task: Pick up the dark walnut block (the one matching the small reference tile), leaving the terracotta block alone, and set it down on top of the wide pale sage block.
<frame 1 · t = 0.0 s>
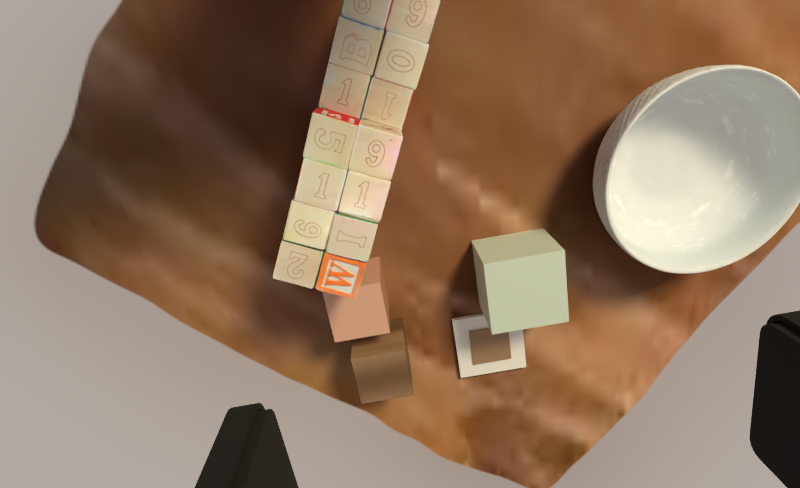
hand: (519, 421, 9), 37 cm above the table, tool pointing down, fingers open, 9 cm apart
reference tile: (489, 341, 52), on the table
walnut block: (381, 342, 51), on the table
cereal bowl: (661, 160, 46), on the table
stack of blocks: (359, 125, 44), on the table
terracotta block: (359, 284, 49), on the table
sage base block: (510, 266, 49), on the table
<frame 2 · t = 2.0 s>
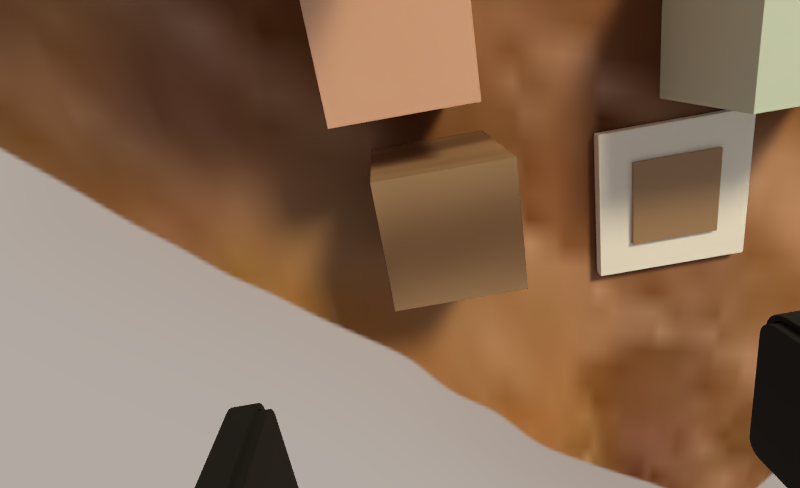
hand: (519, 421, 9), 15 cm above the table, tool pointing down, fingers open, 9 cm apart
reference tile: (668, 193, 23), on the table
walnut block: (434, 193, 23), on the table
terracotta block: (386, 37, 21), on the table
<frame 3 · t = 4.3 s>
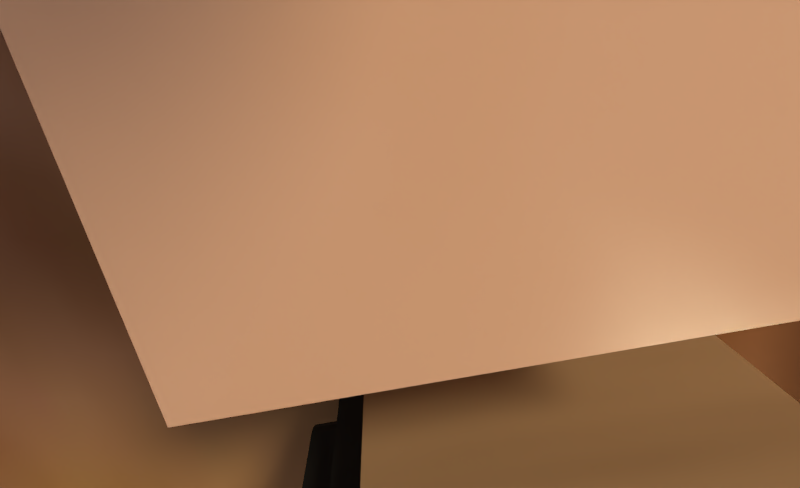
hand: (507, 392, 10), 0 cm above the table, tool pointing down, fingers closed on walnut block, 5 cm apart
walnut block: (502, 377, 11), on the table, touching gripper
terracotta block: (403, 40, 8), on the table
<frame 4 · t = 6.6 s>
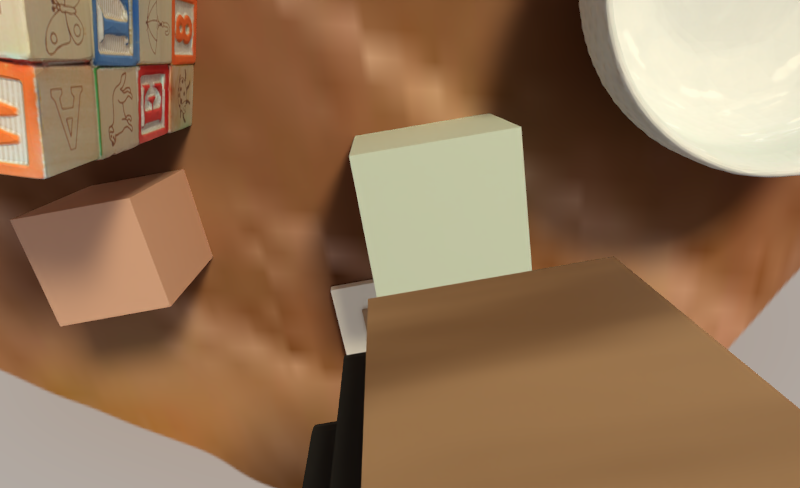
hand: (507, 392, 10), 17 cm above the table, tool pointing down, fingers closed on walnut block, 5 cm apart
reference tile: (402, 328, 29), on the table
walnut block: (502, 380, 11), point 17 cm above the table, touching gripper
terracotta block: (153, 222, 26), on the table
sage base block: (431, 189, 27), on the table
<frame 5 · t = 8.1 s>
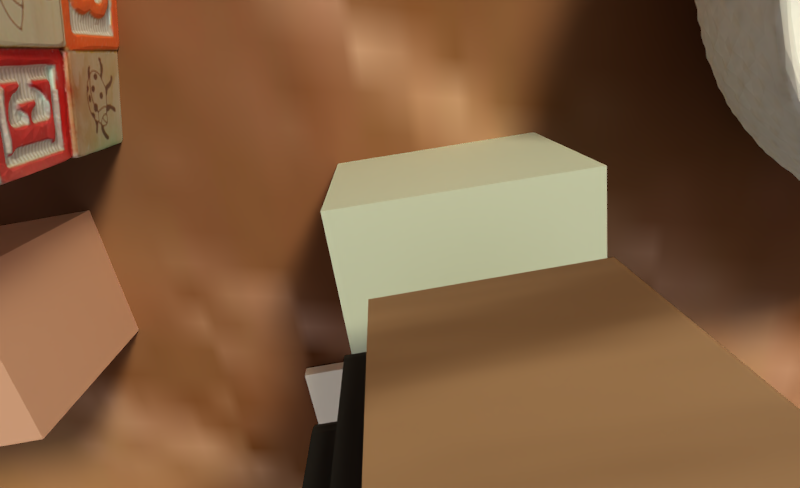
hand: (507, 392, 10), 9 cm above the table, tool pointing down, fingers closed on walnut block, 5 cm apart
reference tile: (404, 421, 21), on the table
walnut block: (502, 380, 11), point 8 cm above the table, touching gripper
terracotta block: (51, 283, 19), on the table
sage base block: (446, 238, 19), on the table
when the fingers open (8 cm above the table, at t = 9.1 s): walnut block drops 2 cm, resting on sage base block.
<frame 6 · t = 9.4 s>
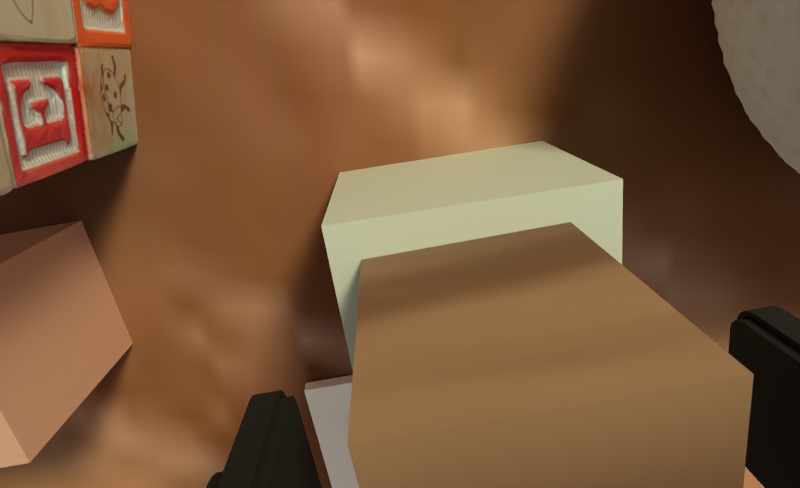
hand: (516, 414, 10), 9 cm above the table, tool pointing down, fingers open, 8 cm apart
reference tile: (406, 437, 21), on the table
walnut block: (478, 331, 12), point 6 cm above the table, touching sage base block
terracotta block: (42, 296, 18), on the table
sage base block: (451, 249, 18), on the table, touching walnut block
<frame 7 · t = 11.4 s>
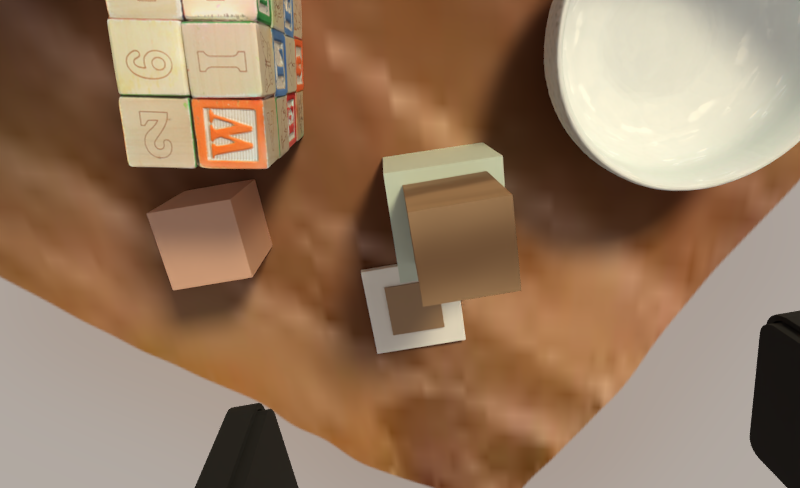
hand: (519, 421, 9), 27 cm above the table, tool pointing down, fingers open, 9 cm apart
reference tile: (414, 304, 38), on the table
walnut block: (450, 218, 30), point 6 cm above the table
cereal bowl: (645, 42, 33), on the table
terracotta block: (229, 218, 35), on the table
sage base block: (438, 198, 35), on the table
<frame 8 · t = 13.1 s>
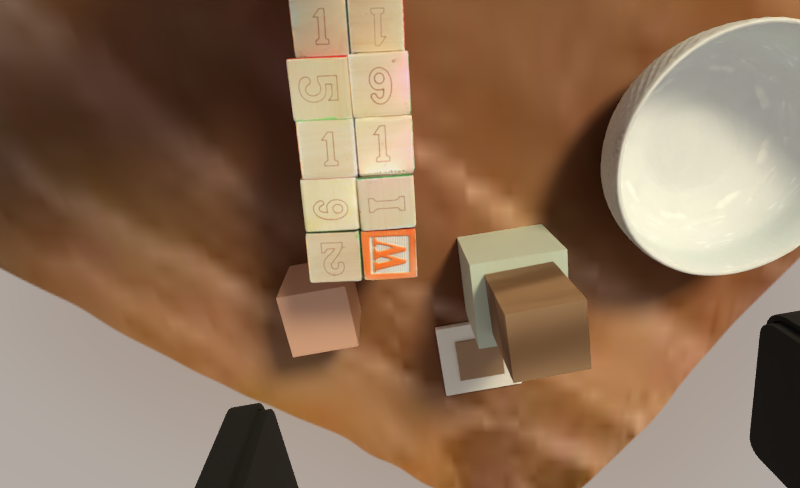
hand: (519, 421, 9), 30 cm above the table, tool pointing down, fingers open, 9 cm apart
reference tile: (478, 354, 44), on the table
walnut block: (522, 298, 36), point 6 cm above the table, touching sage base block
cereal bowl: (681, 141, 39), on the table
stack of blocks: (358, 79, 36), on the table
terracotta block: (326, 287, 42), on the table
sage base block: (502, 268, 42), on the table, touching walnut block
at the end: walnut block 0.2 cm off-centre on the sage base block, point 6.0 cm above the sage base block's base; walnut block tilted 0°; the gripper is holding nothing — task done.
